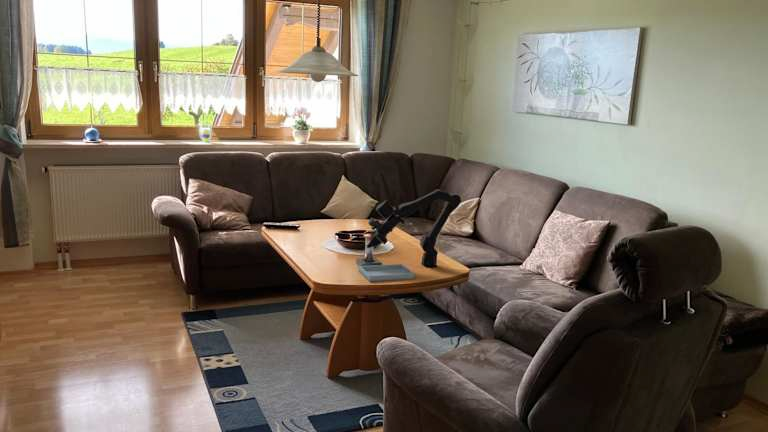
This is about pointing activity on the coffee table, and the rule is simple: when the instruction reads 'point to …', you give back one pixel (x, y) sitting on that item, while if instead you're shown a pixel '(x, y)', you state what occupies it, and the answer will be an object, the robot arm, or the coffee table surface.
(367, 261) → the block
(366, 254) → the pin
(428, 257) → the robot arm
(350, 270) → the coffee table surface
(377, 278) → the tray
